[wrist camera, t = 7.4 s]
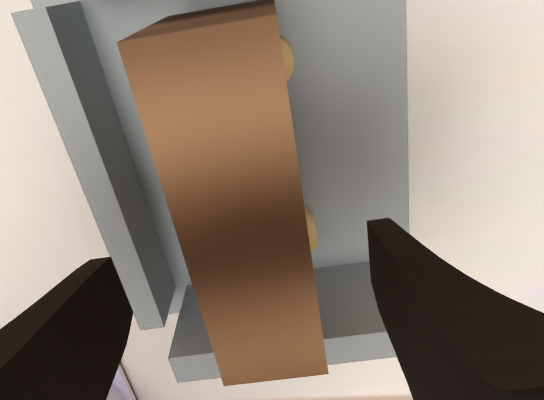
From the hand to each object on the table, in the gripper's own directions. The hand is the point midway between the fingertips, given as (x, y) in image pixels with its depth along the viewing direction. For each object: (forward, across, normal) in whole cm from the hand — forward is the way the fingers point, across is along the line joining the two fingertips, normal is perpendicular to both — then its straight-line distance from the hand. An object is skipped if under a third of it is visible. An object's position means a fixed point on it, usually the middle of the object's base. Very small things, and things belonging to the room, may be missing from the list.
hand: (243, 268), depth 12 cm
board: (+7, 0, 0) cm, 7 cm away
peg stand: (+10, 0, 0) cm, 10 cm away
